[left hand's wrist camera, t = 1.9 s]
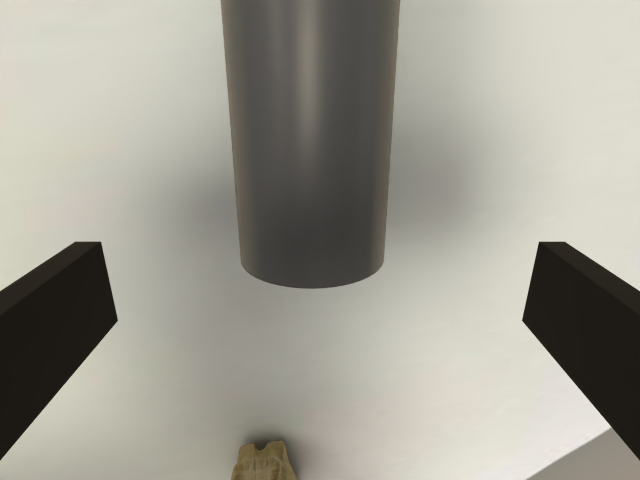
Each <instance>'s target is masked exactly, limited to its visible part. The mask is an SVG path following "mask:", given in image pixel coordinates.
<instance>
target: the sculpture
mask: <svg viewBox="0 0 640 480" xmlns="http://www.w3.org/2000/svg"><path fill="white" fill-rule="evenodd" d="M231 480H297V477H296V475H295V473H294V470H293V468H292V467H291V465H290V463H289V459H288V456H287V452H286V445H285V443H284V442H283V441H282V440H281V441H270V442H268V443H267V445H266V447H265V448H264V449H263V450H260V451H259V449H258V445H257V444H254V443H253V444H246V445H243V446H241V447H240V450H239V456H238V463H237V464H236V465H235V467H234V470H233V473H232V477H231Z"/></svg>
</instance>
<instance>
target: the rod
mask: <svg viewBox="0 0 640 480" xmlns="http://www.w3.org/2000/svg"><path fill="white" fill-rule="evenodd" d="M399 8H400V0H221V9H222V22H223V35H224V47H225V60H226V73H227V86H228V99H229V112H230V125H231V138H232V151H233V163H234V176H235V189H236V202H237V215H238V228H239V241H240V254H241V263H242V266H243V267H244V269H245V270H246V271H247V272H248V273H249V274H251V275H252V276H254V277H256V278H258V279H260V280H262V281H265V282H268V283H271V284H276V285H280V286H286V287H293V288H329V287H337V286H343V285H347V284H351V283H355V282H358V281H361V280H363V279H365V278H368V277H369V276H371V275H373V274H374V273H375V272H377V271H378V270H379V269H380V267H381V266H382V264H383V262H384V248H385V232H386V216H387V200H388V184H389V168H390V152H391V136H392V120H393V104H394V88H395V72H396V56H397V40H398V24H399Z"/></svg>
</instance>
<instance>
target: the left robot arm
mask: <svg viewBox="0 0 640 480" xmlns="http://www.w3.org/2000/svg"><path fill="white" fill-rule="evenodd" d="M117 321H118V319H117V314H116V310H115V305H114V300H113V296H112V291H111V286H110V282H109V277H108V272H107V268H106V263H105V259H104V254H103V249H102V245H101V242H74V243H73V244H71V245H70V246H68V247H67V248H65V249H64V250H62V251H61V252H59V253H58V254H56V255H55V256H53V257H51V258H50V259H48V260H47V261H45V262H44V263H42V264H41V265H39V266H38V267H36V268H35V269H33V270H32V271H30V272H29V273H27V274H26V275H24V276H23V277H21V278H20V279H18V280H17V281H15V282H14V283H12V284H11V285H9V286H8V287H6V288H4V289H3V290H1V291H0V460H1V459H2V458H3V456H4V455H5V454H6V453H7V452H8V451H9V449H10V448H11V447H12V446H13V445H14V443H15V442H16V441H17V440H18V439H19V437H20V436H21V435H22V434H23V433H24V432H25V430H26V429H27V428H28V427H29V426H30V424H31V423H32V422H33V421H34V420H35V418H36V417H37V416H38V415H39V414H40V413H41V411H42V410H43V409H44V408H45V407H46V405H47V404H48V403H49V402H50V401H51V399H52V398H53V397H54V396H55V395H56V394H57V392H58V391H59V390H60V389H61V388H62V386H63V385H64V384H65V383H66V382H67V380H68V379H69V378H70V377H71V376H72V375H73V373H74V372H75V371H76V370H77V369H78V367H79V366H80V365H81V364H82V363H83V361H84V360H85V359H86V358H87V357H88V356H89V354H90V353H91V352H92V351H93V350H94V348H95V347H96V346H97V345H98V344H99V342H100V341H101V340H102V339H103V338H104V336H105V335H106V334H107V333H108V332H109V331H110V329H111V328H112V327H113V326H114V325H115V323H116V322H117ZM522 321H523V322H524V323H525V325H526V326H527V327H528V328H529V329H530V331H531V332H532V333H533V334H534V335H535V336H536V338H537V339H538V340H539V341H540V342H541V344H542V345H543V346H544V347H545V348H546V350H547V351H548V352H549V353H550V354H551V356H552V357H553V358H554V359H555V360H556V361H557V363H558V364H559V365H560V366H561V367H562V369H563V370H564V371H565V372H566V373H567V375H568V376H569V377H570V378H571V379H572V380H573V382H574V383H575V384H576V385H577V386H578V388H579V389H580V390H581V391H582V392H583V394H584V395H585V396H586V397H587V398H588V399H589V401H590V402H591V403H592V404H593V405H594V407H595V408H596V409H597V410H598V411H599V413H600V414H601V415H602V416H603V417H604V418H605V420H606V421H607V422H608V423H609V424H610V426H611V427H612V428H613V429H614V430H615V432H616V433H617V434H618V435H619V436H620V437H621V439H622V440H623V441H624V442H625V443H626V445H627V446H628V447H629V448H630V449H631V451H632V452H633V453H634V454H635V455H636V456H637V458H638V459H639V460H640V291H639V290H637V289H636V288H634V287H632V286H631V285H629V284H628V283H626V282H625V281H623V280H622V279H620V278H619V277H617V276H616V275H614V274H613V273H611V272H610V271H608V270H607V269H605V268H604V267H602V266H601V265H599V264H598V263H596V262H595V261H593V260H592V259H590V258H589V257H587V256H585V255H584V254H582V253H581V252H579V251H578V250H576V249H575V248H573V247H572V246H570V245H569V244H567V243H566V242H539V245H538V249H537V254H536V259H535V263H534V268H533V272H532V277H531V282H530V286H529V291H528V296H527V300H526V305H525V310H524V314H523V319H522Z"/></svg>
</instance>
